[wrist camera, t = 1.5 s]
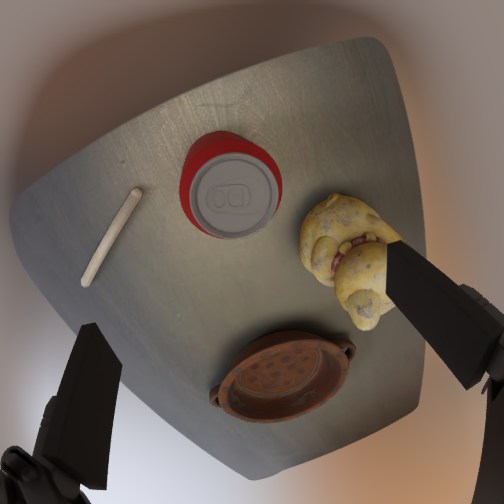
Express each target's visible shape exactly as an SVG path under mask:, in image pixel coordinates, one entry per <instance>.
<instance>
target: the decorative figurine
mask: <svg viewBox="0 0 504 504" xmlns="http://www.w3.org/2000/svg"><path fill="white" fill-rule="evenodd" d="M398 240H402V241H403V242H404V240H403V239H402V238H401V237H400V236H399V235H398V234H397V233H396V232H395V231H394V230H393V229H392V228H391V227H390V226H389V225H388V224H386V223H385V222H384V221H383V220H381V218H380V216H379V215H378V214H377V213H376V212H375V211H374V210H373V209H372V208H371V207H369V206H368V205H366V204H365V203H364V202H362V201H360V200H358V199H356V198H354V197H350V196H345V195H339V194H338V193H331V194H330V195H329V196H328V198H327V200H325V201H323V202H321V203H319V204H318V205H316V206H315V207H314V208H313V209H312V210H311V211H310V212H309V213H308V215H307V216H306V218H305V219H304V221H303V223H302V226H301V229H300V236H299V254H300V258H301V260H302V263H303V265H304V266H305V267H306V269H307V270H308V271H310V272H312V273H313V274H314V276H315V277H316V278H317V280H318V281H320V282H321V283H322V284H324V285H327V286H332V287H335V294H336V296H337V299H338V301H339V302H340V304H341V305H342V306H343V308H344V310H347V311H348V313H349V315H350V317H351V319H352V321H353V323H354V324H355V325H356V327H357V328H358V329H360V330H363V331H369V330H371V329H373V328H374V327H375V326H376V325H377V323H378V321H379V319H380V315H382V314H384V313H386V312H387V311H389V310H390V309H391V308H393V307H394V306H396V305H395V304H394V303H393V302H392V301H391V300H390V298H389V297H388V296H387V295H386V294H385V292H386V271H387V244H389V243H392V242H395V241H398ZM404 243H405V242H404Z"/></svg>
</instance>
